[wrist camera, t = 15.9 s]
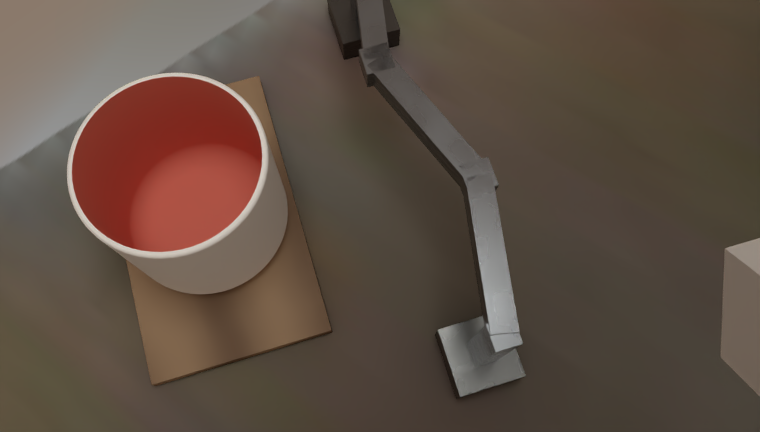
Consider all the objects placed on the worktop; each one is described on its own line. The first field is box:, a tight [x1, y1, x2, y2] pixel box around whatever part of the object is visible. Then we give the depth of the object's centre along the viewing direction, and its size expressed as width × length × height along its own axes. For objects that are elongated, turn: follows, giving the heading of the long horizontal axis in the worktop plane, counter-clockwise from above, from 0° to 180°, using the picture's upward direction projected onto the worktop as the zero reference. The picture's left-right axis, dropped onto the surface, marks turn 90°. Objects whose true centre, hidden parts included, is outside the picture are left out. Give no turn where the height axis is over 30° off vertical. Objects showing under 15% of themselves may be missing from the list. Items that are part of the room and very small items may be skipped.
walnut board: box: [126, 76, 332, 386], centre depth 45 cm, size 11×18×1 cm, turn 17°
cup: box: [67, 73, 288, 294], centre depth 40 cm, size 10×10×10 cm
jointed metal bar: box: [327, 0, 526, 399], centre depth 42 cm, size 5×28×10 cm, turn 17°
